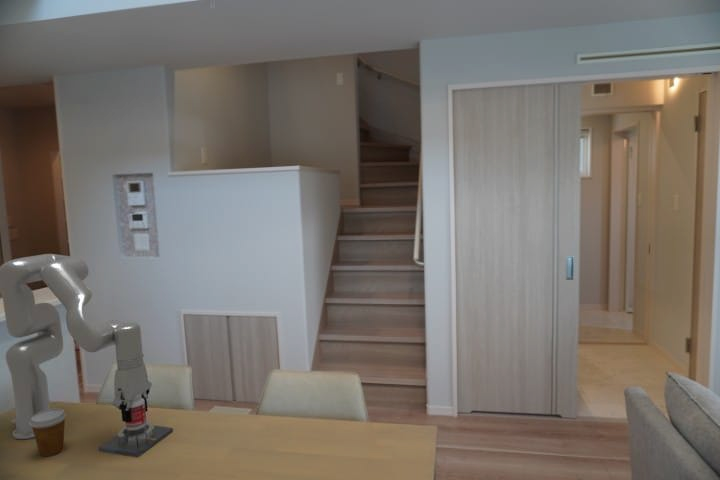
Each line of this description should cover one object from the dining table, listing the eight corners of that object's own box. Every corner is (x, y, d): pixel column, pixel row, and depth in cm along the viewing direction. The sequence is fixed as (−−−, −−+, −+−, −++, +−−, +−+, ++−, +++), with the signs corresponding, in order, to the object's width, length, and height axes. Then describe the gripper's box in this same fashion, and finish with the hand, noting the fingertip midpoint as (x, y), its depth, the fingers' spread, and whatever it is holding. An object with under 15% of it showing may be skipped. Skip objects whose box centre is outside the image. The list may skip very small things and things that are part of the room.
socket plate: (98, 450, 150) (97, 439, 150) (136, 426, 165) (135, 415, 165) (137, 457, 146) (136, 445, 145) (173, 431, 161) (172, 420, 160)
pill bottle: (148, 427, 154) (145, 394, 153) (127, 433, 151) (124, 399, 149) (144, 419, 159) (142, 387, 158) (124, 425, 156) (121, 392, 155)
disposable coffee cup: (76, 446, 153) (72, 410, 152) (45, 462, 144) (41, 424, 143) (56, 440, 157) (53, 405, 156) (26, 456, 148) (22, 418, 147)
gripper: (140, 352, 162) (145, 403, 164) (98, 371, 145) (104, 428, 147) (159, 353, 160) (163, 405, 162) (118, 373, 143) (124, 430, 145)
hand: (135, 415), depth 154 cm, fingers closed on pill bottle, 6 cm apart
